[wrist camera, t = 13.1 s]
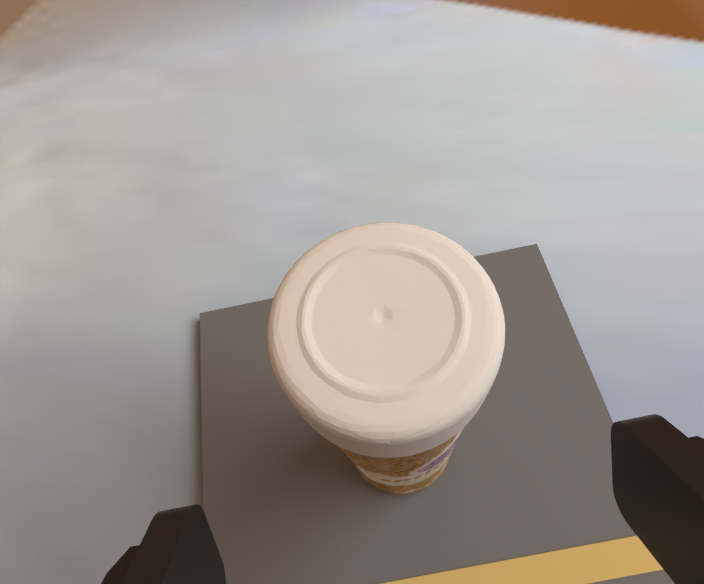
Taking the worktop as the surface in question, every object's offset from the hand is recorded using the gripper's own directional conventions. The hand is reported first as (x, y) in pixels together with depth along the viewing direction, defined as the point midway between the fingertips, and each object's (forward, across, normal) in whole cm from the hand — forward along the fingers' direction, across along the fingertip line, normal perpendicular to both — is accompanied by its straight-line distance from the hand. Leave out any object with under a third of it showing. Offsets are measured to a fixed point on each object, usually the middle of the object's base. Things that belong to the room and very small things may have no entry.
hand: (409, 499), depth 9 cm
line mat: (+11, 0, +6) cm, 12 cm away
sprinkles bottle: (+10, 0, +6) cm, 12 cm away
